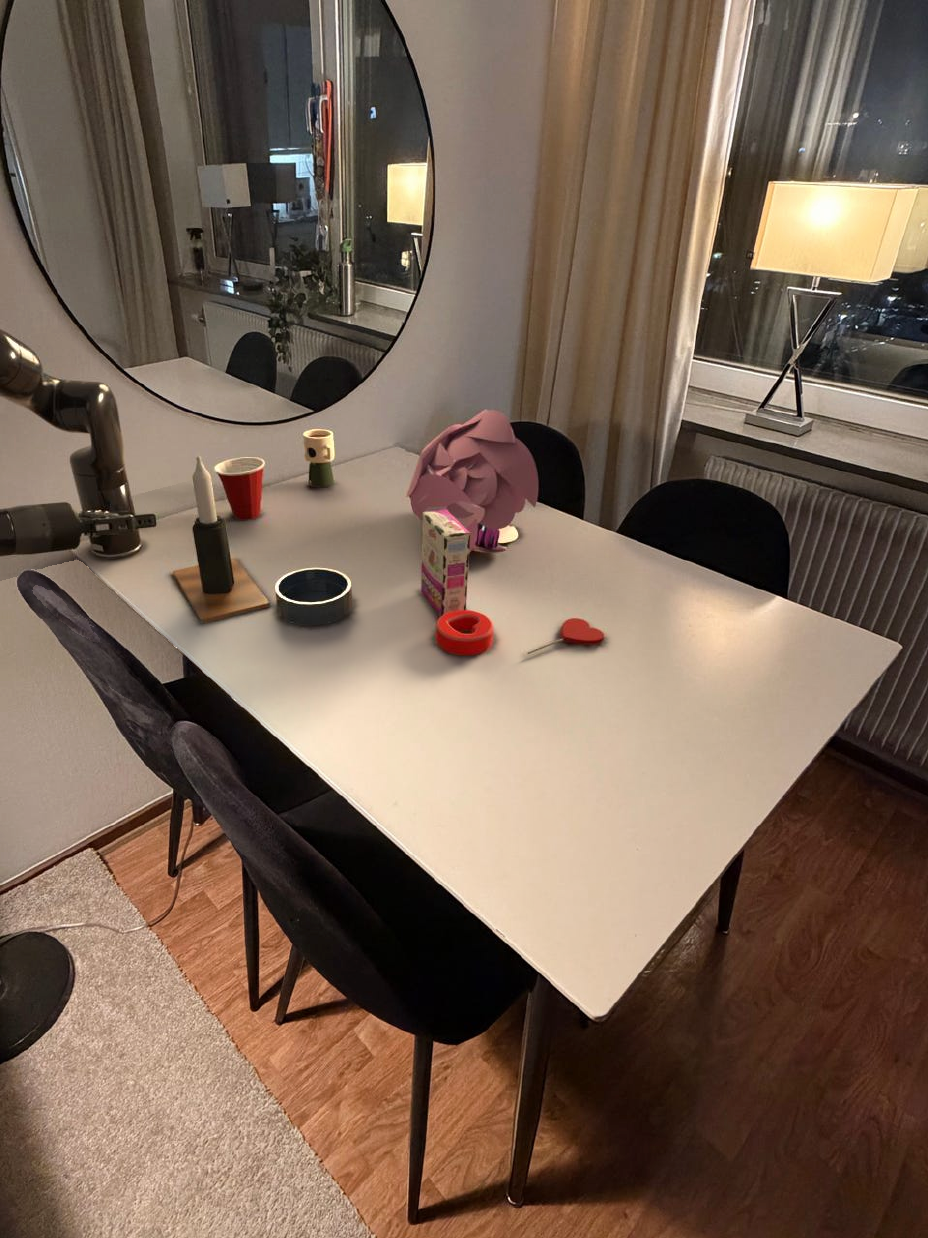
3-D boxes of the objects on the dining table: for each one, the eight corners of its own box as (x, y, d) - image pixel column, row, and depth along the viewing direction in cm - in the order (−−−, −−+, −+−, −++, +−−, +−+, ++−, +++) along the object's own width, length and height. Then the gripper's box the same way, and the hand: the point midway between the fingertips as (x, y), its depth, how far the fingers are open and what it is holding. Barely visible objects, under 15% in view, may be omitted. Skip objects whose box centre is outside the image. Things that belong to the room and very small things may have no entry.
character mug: (298, 480, 184) (293, 429, 177) (323, 475, 188) (320, 425, 181) (319, 495, 177) (315, 442, 170) (345, 489, 181) (342, 437, 174)
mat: (173, 574, 141) (172, 571, 140) (235, 561, 146) (234, 557, 146) (202, 623, 127) (201, 619, 126) (269, 606, 132) (269, 602, 132)
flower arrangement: (551, 568, 160) (594, 442, 147) (477, 582, 143) (518, 442, 130) (444, 503, 179) (474, 387, 166) (368, 509, 162) (395, 381, 150)
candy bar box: (467, 616, 132) (471, 532, 123) (441, 621, 130) (444, 536, 122) (444, 587, 141) (446, 507, 132) (419, 591, 139) (420, 511, 130)
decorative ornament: (432, 626, 129) (432, 611, 127) (485, 622, 130) (486, 607, 129) (441, 657, 121) (441, 641, 119) (498, 652, 122) (499, 637, 121)
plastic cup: (232, 503, 171) (225, 453, 164) (277, 507, 170) (272, 457, 163) (212, 522, 161) (204, 469, 155) (259, 526, 160) (253, 474, 154)
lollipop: (543, 667, 119) (609, 640, 127) (544, 662, 119) (610, 635, 126) (512, 644, 125) (577, 619, 132) (512, 639, 124) (577, 614, 132)
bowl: (267, 599, 134) (264, 577, 132) (334, 582, 140) (332, 561, 138) (293, 633, 125) (291, 611, 123) (364, 614, 131) (363, 592, 129)
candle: (207, 580, 138) (186, 450, 125) (235, 580, 138) (216, 451, 125) (201, 593, 133) (179, 461, 120) (230, 593, 134) (211, 461, 121)
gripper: (52, 506, 108) (160, 498, 120) (21, 501, 118) (124, 494, 129) (60, 557, 110) (165, 543, 121) (29, 548, 120) (129, 536, 131)
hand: (144, 518), depth 125 cm, fingers open, 8 cm apart
